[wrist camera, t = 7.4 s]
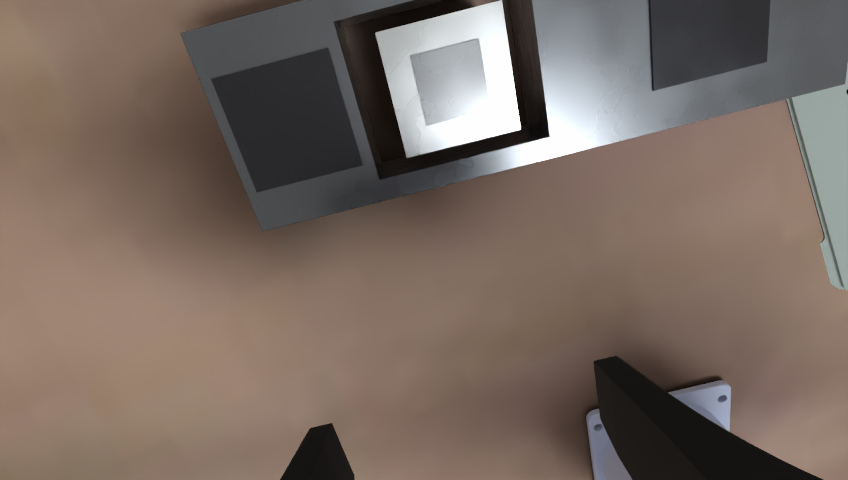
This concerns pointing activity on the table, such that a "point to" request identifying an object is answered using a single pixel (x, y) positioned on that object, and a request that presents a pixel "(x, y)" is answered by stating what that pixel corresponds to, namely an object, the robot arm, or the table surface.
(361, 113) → the rail
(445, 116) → the cube with square inset
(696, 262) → the table surface
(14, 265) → the table surface
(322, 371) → the table surface
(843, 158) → the metal bracket
